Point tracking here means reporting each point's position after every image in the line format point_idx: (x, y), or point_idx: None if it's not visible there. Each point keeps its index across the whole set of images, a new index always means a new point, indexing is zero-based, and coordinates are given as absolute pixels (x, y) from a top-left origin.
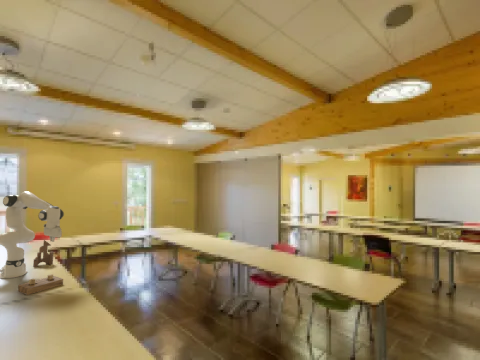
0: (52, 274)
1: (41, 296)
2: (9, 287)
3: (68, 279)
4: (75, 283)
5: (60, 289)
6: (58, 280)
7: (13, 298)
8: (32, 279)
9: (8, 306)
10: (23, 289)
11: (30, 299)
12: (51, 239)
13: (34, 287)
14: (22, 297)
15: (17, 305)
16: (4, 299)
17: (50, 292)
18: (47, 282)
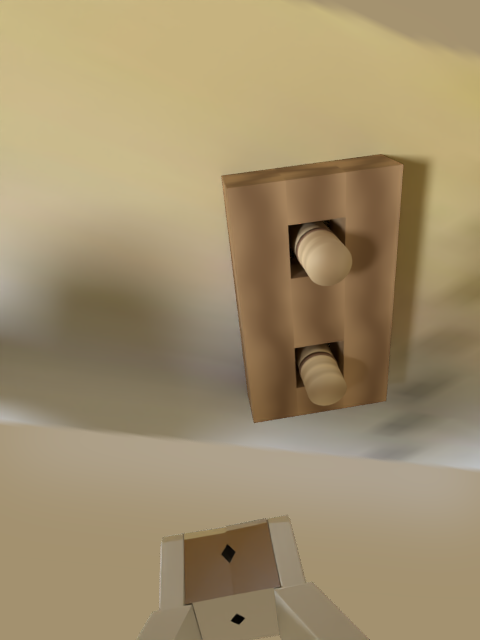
0: (325, 245)
1: (469, 334)
2: (123, 413)
3: (291, 50)
4: (464, 64)
5: (471, 215)
6: (399, 207)
7: (354, 428)
8: (324, 389)
9: (441, 454)
10: None
11: (453, 380)
12: (219, 635)
13: (387, 367)
14: None
15: (468, 431)
16: (328, 454)
17: (458, 280)
18: (377, 288)
